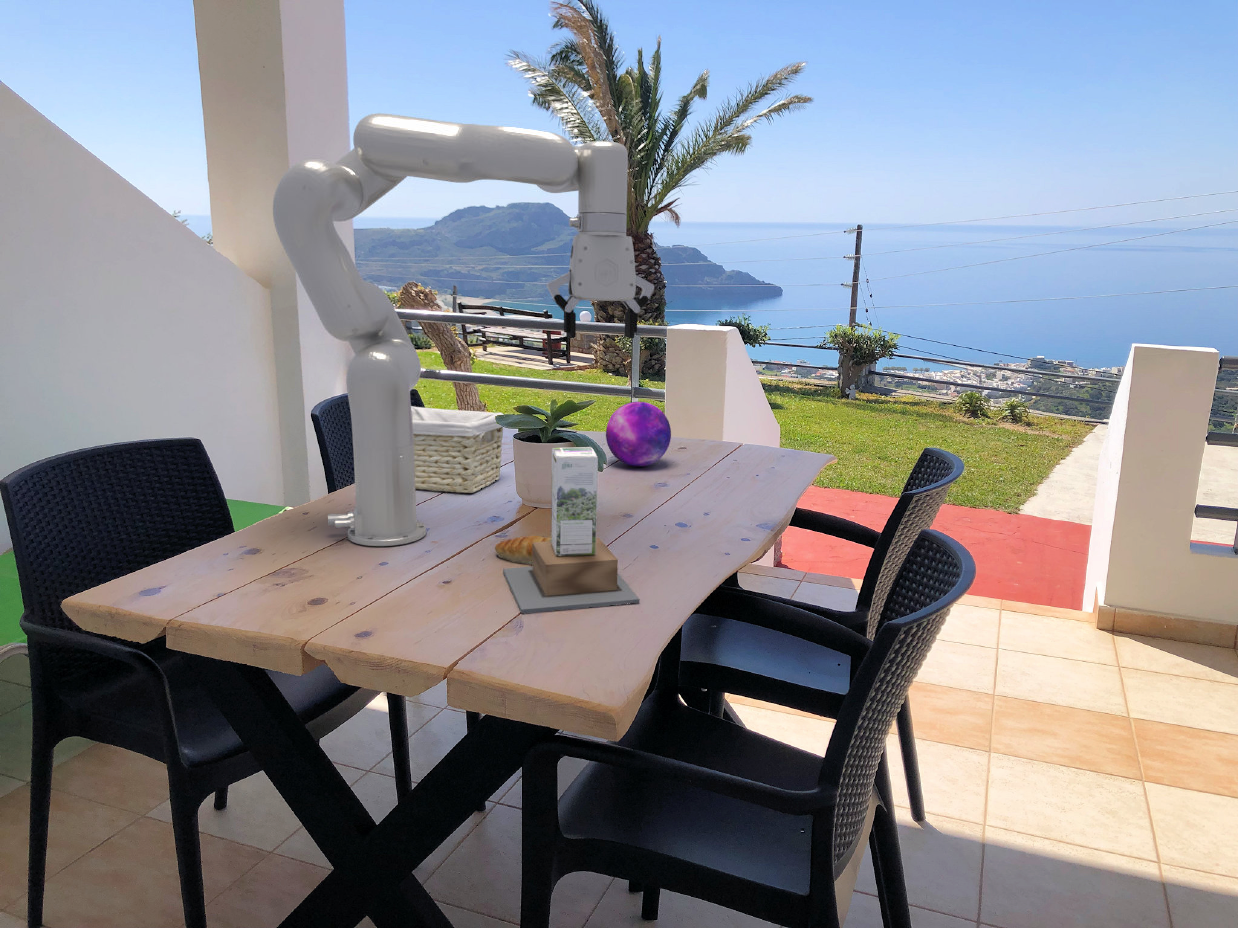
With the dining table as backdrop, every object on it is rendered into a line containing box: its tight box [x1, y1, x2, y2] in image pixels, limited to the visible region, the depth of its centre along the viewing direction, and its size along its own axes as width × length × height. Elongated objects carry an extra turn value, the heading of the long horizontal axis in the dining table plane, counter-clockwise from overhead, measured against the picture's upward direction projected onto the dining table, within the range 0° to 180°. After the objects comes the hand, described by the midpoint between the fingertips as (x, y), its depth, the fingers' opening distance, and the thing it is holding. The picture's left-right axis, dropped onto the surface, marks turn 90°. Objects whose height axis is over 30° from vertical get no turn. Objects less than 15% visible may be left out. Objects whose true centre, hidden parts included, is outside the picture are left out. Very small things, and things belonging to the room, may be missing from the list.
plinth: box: [528, 537, 621, 598], centre depth 120 cm, size 11×11×5 cm
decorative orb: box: [605, 401, 672, 468], centre depth 195 cm, size 15×15×15 cm
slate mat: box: [502, 566, 640, 614], centre depth 119 cm, size 16×16×1 cm
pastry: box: [494, 534, 551, 565], centre depth 131 cm, size 9×7×4 cm
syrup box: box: [550, 446, 599, 556], centre depth 118 cm, size 6×6×14 cm
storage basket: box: [411, 405, 505, 494], centre depth 175 cm, size 24×16×15 cm
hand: (600, 337), depth 135 cm, fingers open, 9 cm apart
